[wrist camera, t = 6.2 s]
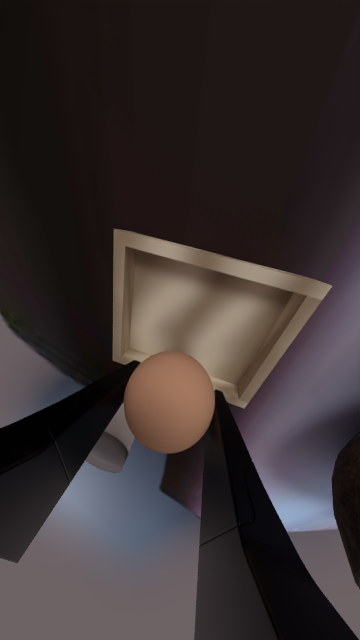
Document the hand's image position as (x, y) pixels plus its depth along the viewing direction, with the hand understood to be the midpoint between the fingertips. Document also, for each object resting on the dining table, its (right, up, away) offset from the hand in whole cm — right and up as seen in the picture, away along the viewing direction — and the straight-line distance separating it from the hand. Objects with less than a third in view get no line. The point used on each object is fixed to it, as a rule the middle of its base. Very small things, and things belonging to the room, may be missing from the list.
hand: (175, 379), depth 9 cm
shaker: (-6, -6, +14) cm, 16 cm away
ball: (0, +1, +1) cm, 1 cm away
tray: (+2, +3, +7) cm, 8 cm away
